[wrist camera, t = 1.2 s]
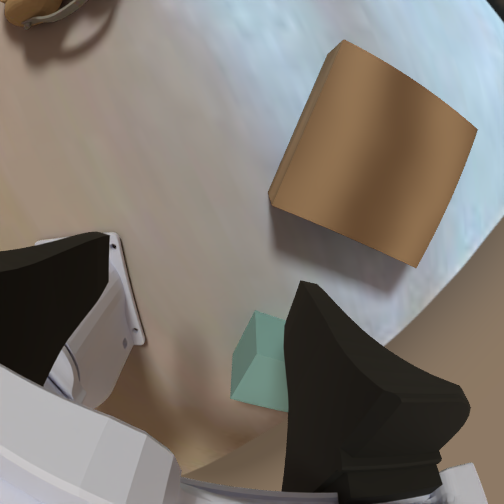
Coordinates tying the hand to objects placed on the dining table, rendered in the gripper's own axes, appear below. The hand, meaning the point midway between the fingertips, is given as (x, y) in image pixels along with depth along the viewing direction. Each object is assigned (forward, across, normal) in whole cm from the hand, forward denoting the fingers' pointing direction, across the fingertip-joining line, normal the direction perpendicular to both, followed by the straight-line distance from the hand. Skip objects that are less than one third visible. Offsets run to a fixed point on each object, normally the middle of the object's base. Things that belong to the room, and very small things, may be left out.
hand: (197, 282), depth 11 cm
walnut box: (+11, -8, -6) cm, 15 cm away
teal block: (+10, -5, +10) cm, 15 cm away
